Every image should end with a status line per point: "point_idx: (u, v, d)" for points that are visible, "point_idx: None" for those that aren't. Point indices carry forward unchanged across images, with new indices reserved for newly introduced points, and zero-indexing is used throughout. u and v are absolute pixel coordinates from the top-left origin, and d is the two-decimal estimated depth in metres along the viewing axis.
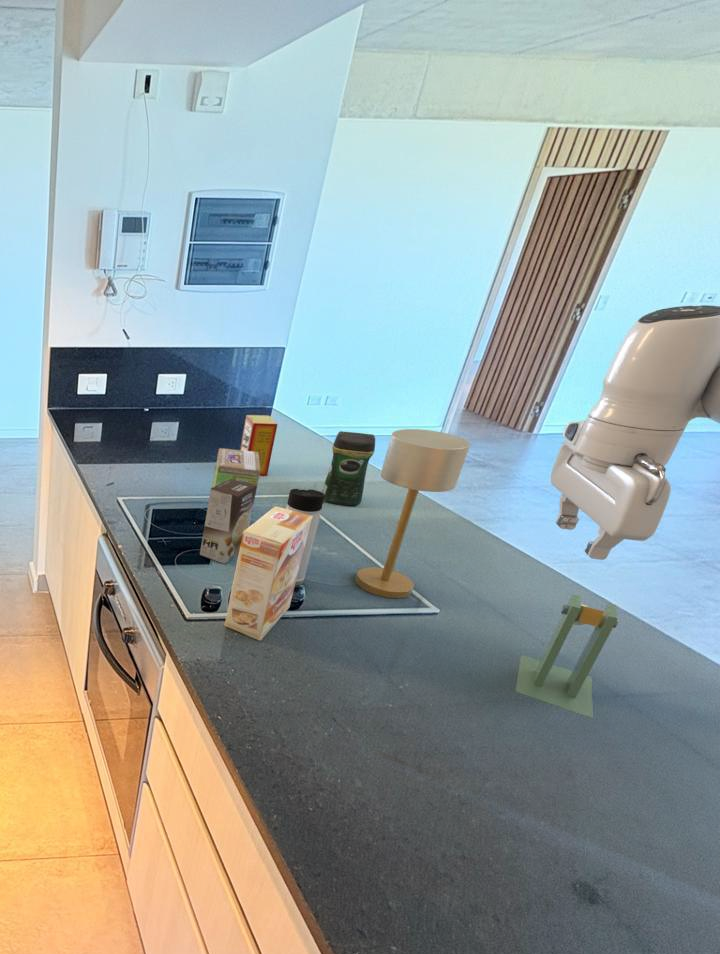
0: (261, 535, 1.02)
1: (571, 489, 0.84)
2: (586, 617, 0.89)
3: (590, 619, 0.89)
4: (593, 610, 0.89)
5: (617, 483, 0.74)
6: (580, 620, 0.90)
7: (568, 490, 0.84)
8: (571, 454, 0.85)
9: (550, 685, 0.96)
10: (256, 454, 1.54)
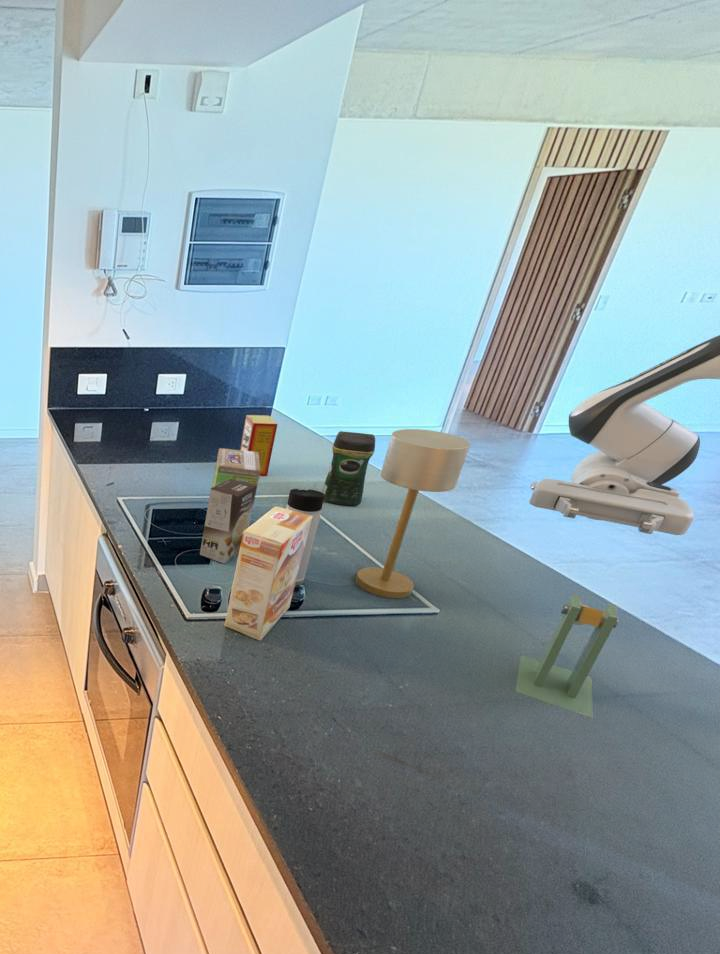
0: (261, 535, 1.02)
1: None
2: (586, 617, 0.89)
3: (590, 619, 0.89)
4: (593, 610, 0.89)
5: None
6: (580, 620, 0.90)
7: None
8: None
9: (550, 685, 0.96)
10: (256, 454, 1.54)
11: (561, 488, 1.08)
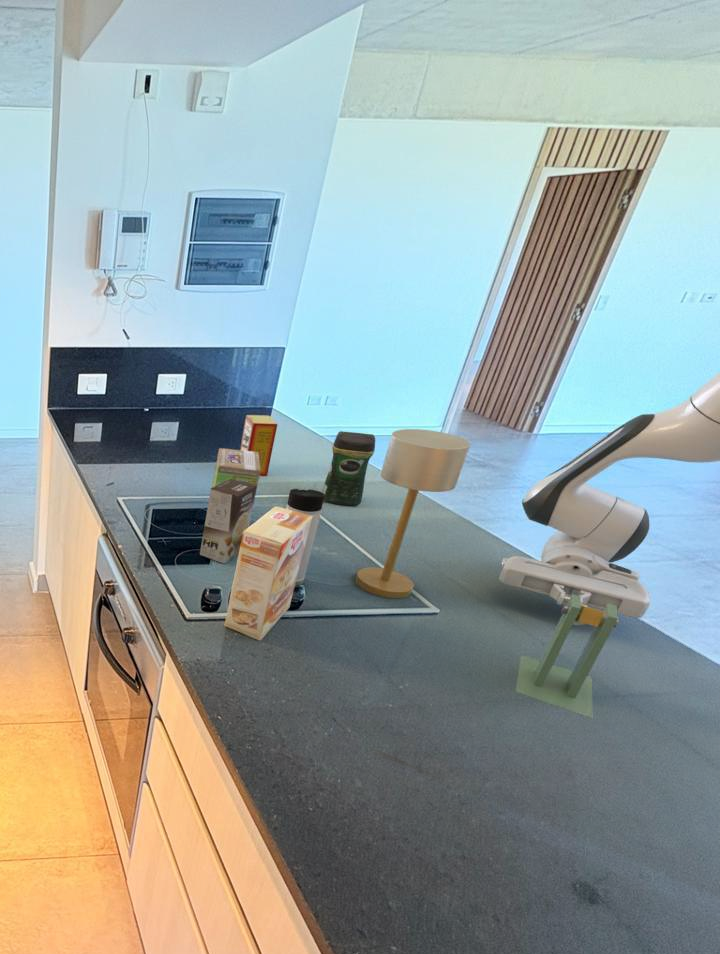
0: (261, 535, 1.02)
1: None
2: (586, 617, 0.89)
3: (590, 619, 0.89)
4: (593, 610, 0.89)
5: None
6: (580, 620, 0.90)
7: None
8: None
9: (550, 685, 0.96)
10: (256, 454, 1.54)
11: (528, 567, 1.15)
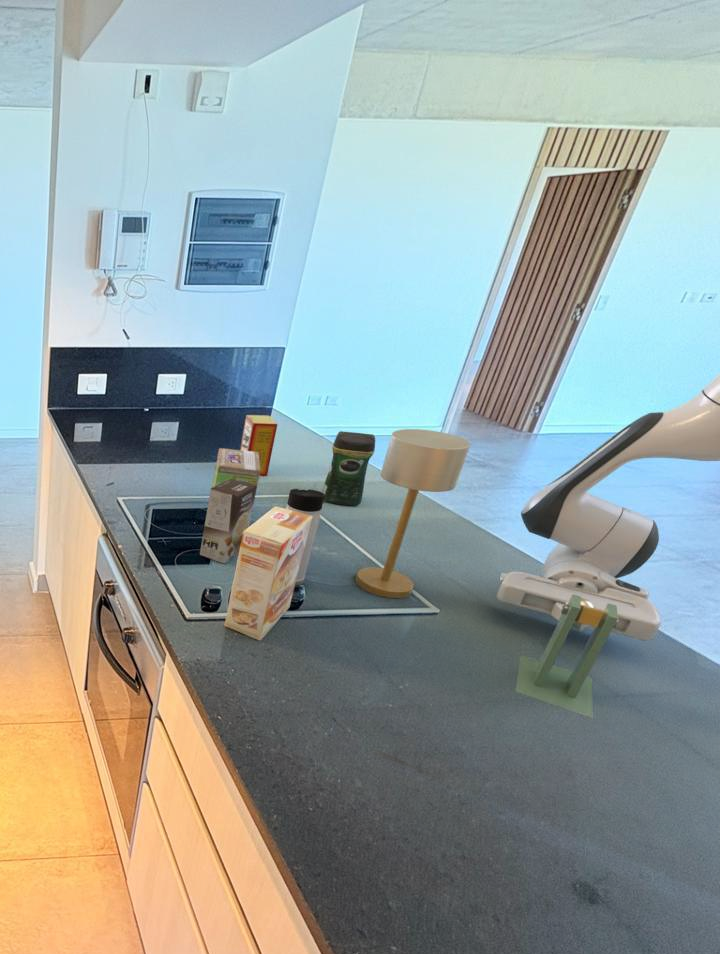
0: (261, 535, 1.02)
1: None
2: (586, 618, 0.89)
3: (590, 620, 0.89)
4: (593, 611, 0.89)
5: None
6: (580, 621, 0.90)
7: None
8: None
9: (550, 685, 0.96)
10: (256, 454, 1.54)
11: (528, 584, 1.07)
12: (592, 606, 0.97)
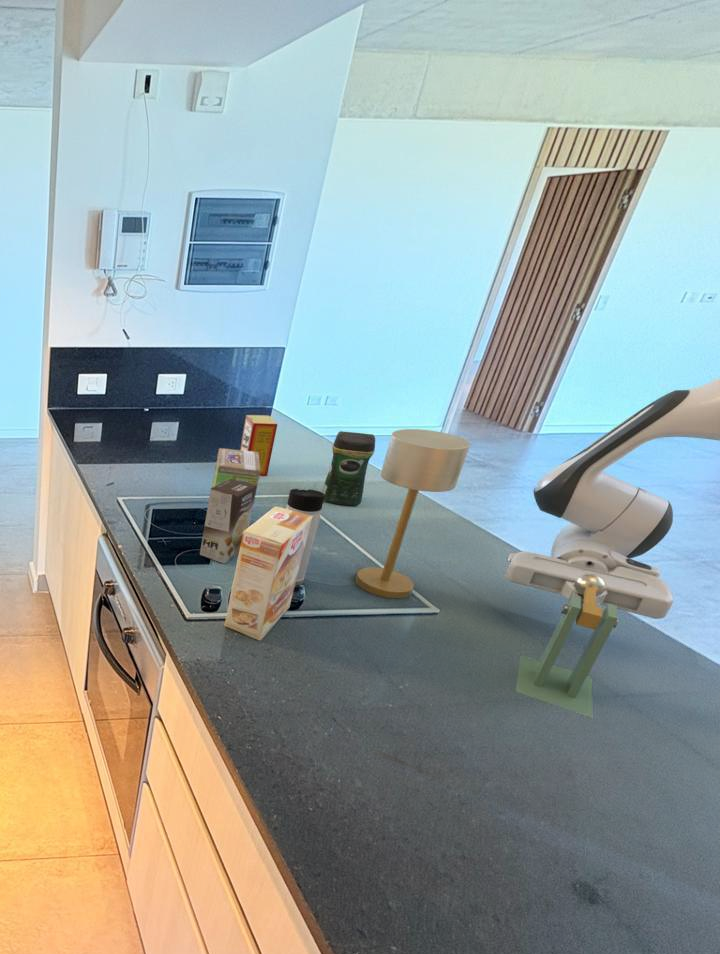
0: (261, 535, 1.02)
1: None
2: (584, 621, 0.90)
3: (588, 623, 0.89)
4: (591, 615, 0.89)
5: None
6: (578, 623, 0.90)
7: None
8: None
9: (550, 685, 0.96)
10: (256, 454, 1.54)
11: (537, 563, 1.05)
12: (602, 585, 0.95)
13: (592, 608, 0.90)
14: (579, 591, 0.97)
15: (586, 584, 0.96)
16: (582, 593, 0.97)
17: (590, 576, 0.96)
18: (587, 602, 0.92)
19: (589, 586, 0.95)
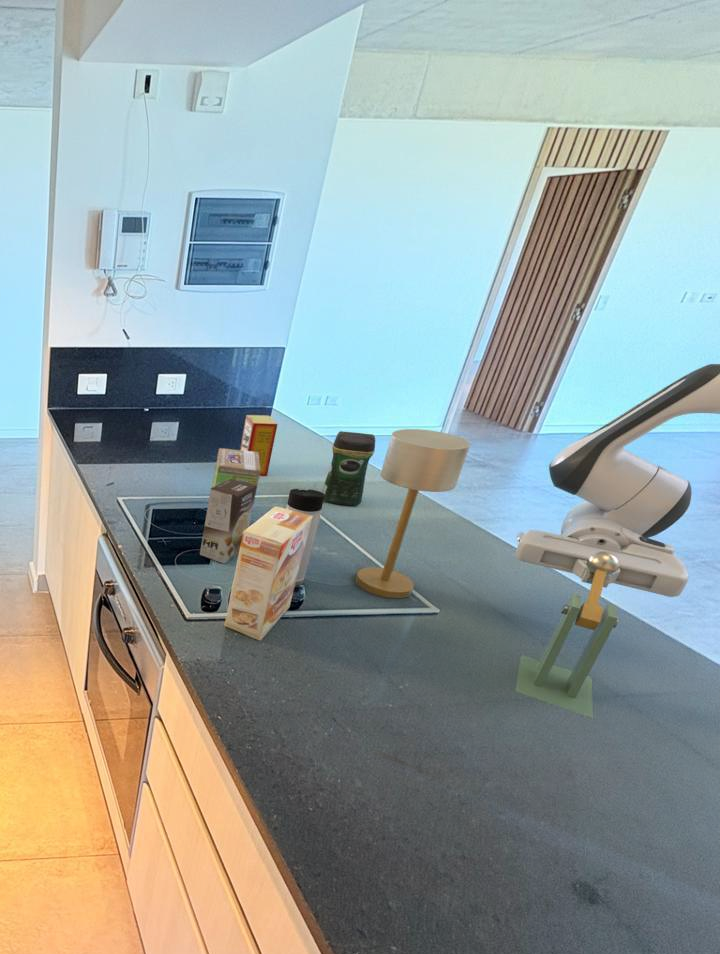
0: (261, 535, 1.02)
1: None
2: (582, 623, 0.90)
3: (586, 625, 0.90)
4: (589, 620, 0.89)
5: None
6: (576, 624, 0.91)
7: None
8: None
9: (550, 685, 0.96)
10: (256, 454, 1.54)
11: (548, 542, 1.02)
12: (614, 566, 0.92)
13: (592, 610, 0.89)
14: None
15: (597, 567, 0.93)
16: None
17: (602, 557, 0.93)
18: (591, 596, 0.91)
19: (600, 569, 0.93)
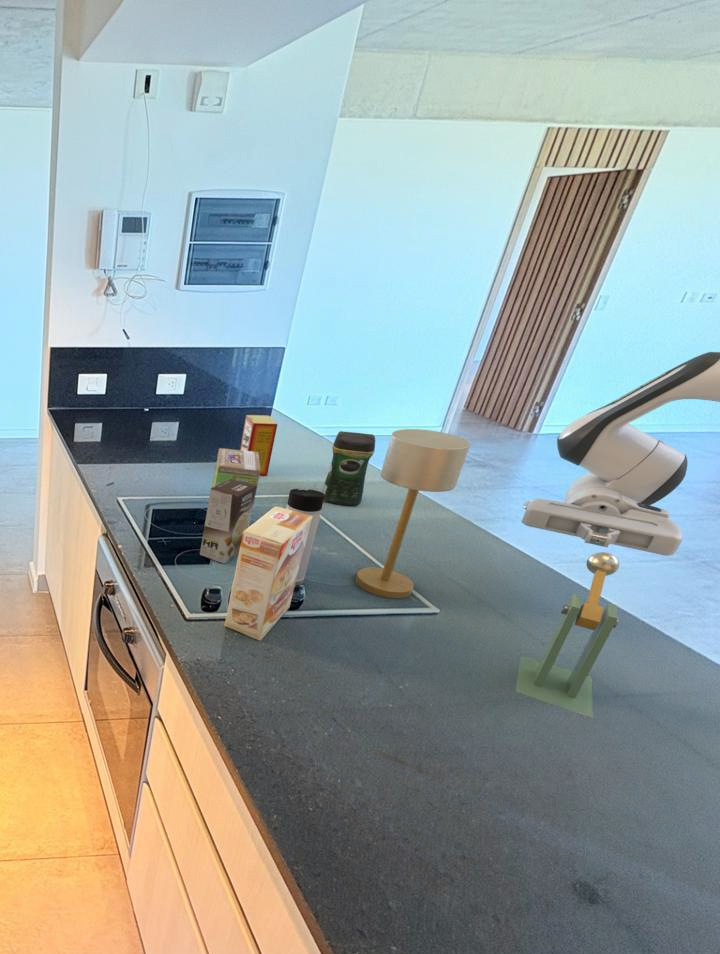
0: (261, 535, 1.02)
1: None
2: (582, 623, 0.90)
3: (586, 625, 0.90)
4: (589, 620, 0.89)
5: None
6: (576, 624, 0.91)
7: None
8: None
9: (550, 685, 0.96)
10: (256, 454, 1.54)
11: (553, 508, 1.10)
12: (614, 567, 0.92)
13: (592, 610, 0.89)
14: (590, 571, 0.94)
15: (596, 567, 0.93)
16: (593, 573, 0.94)
17: (601, 557, 0.93)
18: (591, 596, 0.91)
19: (599, 569, 0.93)
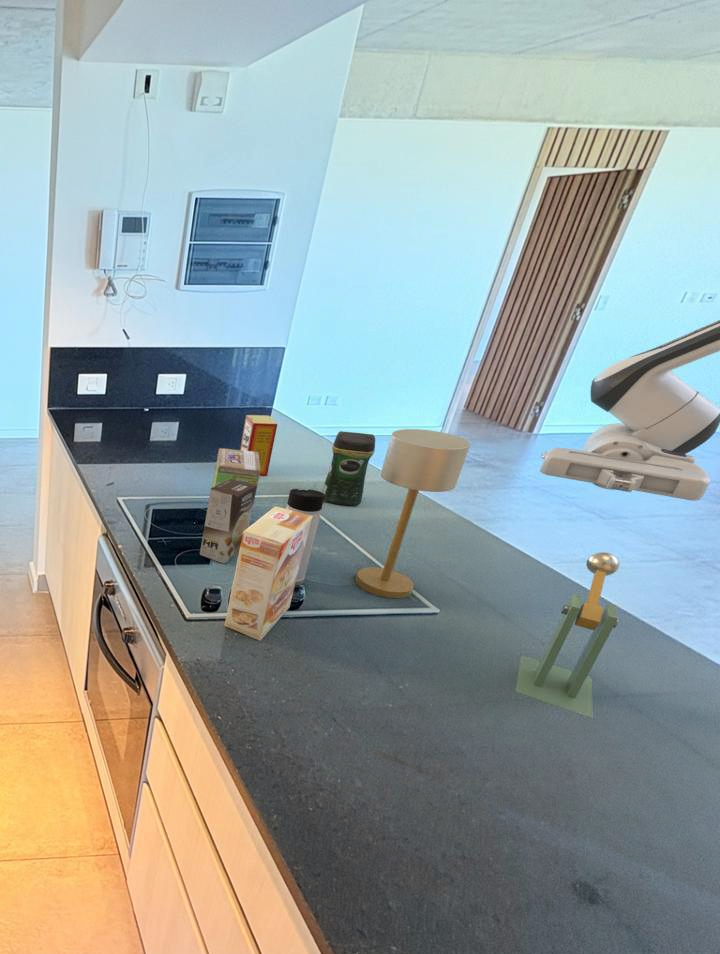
0: (261, 535, 1.02)
1: None
2: (582, 623, 0.90)
3: (586, 625, 0.90)
4: (589, 620, 0.89)
5: None
6: (576, 624, 0.91)
7: None
8: None
9: (550, 685, 0.96)
10: (256, 454, 1.54)
11: (573, 455, 1.06)
12: (614, 567, 0.92)
13: (592, 610, 0.89)
14: (590, 571, 0.94)
15: (596, 567, 0.93)
16: (593, 573, 0.94)
17: (601, 557, 0.93)
18: (591, 596, 0.91)
19: (599, 569, 0.93)
